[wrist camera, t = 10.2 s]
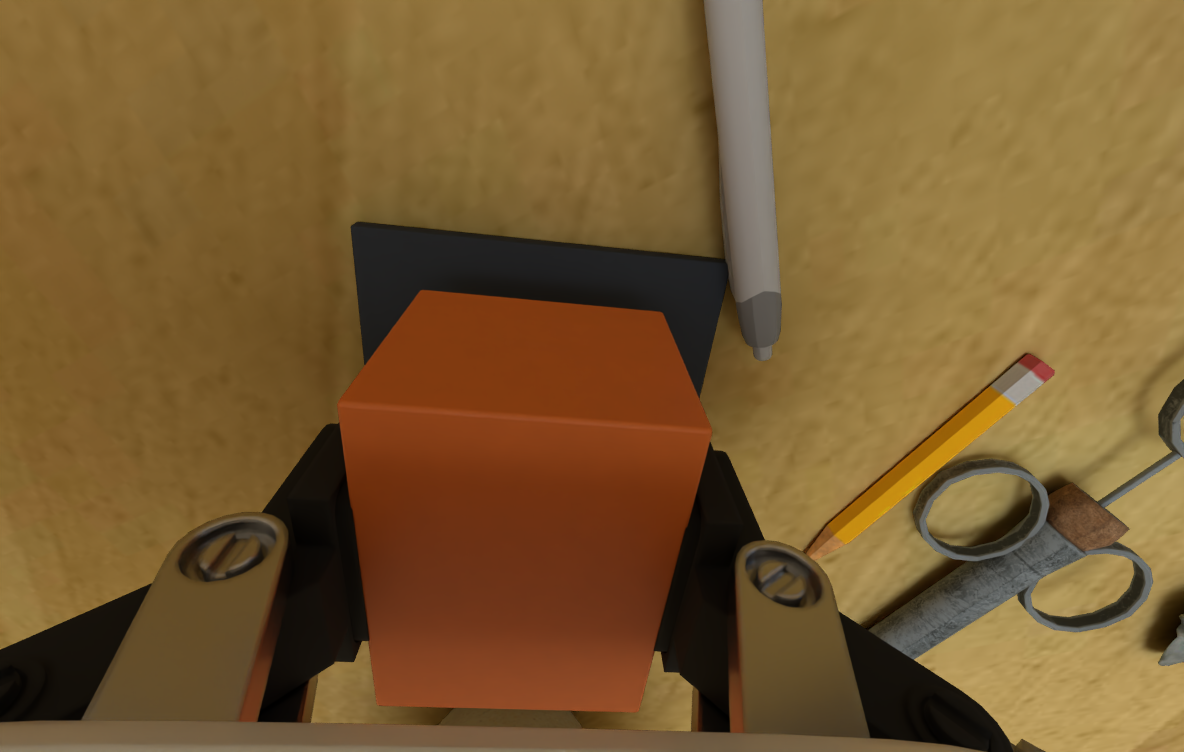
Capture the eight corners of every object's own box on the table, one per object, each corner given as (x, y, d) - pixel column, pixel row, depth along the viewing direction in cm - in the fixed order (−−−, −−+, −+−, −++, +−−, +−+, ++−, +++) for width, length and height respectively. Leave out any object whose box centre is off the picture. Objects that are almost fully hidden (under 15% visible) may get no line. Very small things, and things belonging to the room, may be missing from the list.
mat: (381, 483, 14) (376, 492, 14) (356, 220, 11) (349, 225, 11) (670, 500, 15) (672, 509, 15) (727, 258, 12) (732, 264, 11)
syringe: (862, 789, 19) (847, 740, 21) (1457, 467, 12) (1367, 430, 14) (697, 694, 18) (693, 650, 20) (1254, 274, 11) (1179, 257, 13)
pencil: (1063, 377, 13) (1049, 365, 13) (809, 583, 16) (794, 576, 16) (1035, 361, 14) (1022, 349, 13) (797, 561, 17) (783, 554, 17)
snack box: (419, 288, 10) (334, 402, 6) (663, 310, 10) (715, 430, 6) (430, 532, 12) (375, 708, 9) (620, 543, 13) (639, 714, 9)
